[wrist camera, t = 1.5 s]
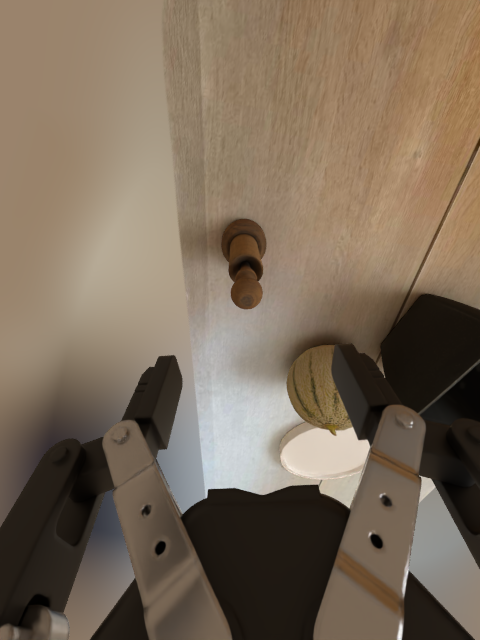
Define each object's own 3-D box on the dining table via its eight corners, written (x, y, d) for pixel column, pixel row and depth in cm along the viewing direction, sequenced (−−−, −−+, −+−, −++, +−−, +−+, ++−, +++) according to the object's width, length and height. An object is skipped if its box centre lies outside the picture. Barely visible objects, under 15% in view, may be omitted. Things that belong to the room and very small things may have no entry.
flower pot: (420, 268, 40) (519, 330, 26) (510, 300, 43) (640, 370, 29) (354, 353, 50) (400, 430, 36) (431, 373, 53) (500, 452, 39)
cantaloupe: (362, 327, 46) (407, 391, 34) (347, 381, 54) (379, 449, 42) (282, 331, 47) (298, 395, 34) (280, 384, 55) (292, 452, 42)
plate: (405, 434, 66) (410, 442, 64) (335, 478, 79) (338, 487, 77) (321, 402, 58) (324, 411, 56) (260, 457, 72) (261, 465, 70)
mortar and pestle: (266, 259, 39) (284, 325, 24) (226, 265, 39) (218, 334, 24) (262, 215, 35) (280, 260, 20) (218, 222, 36) (203, 271, 21)
